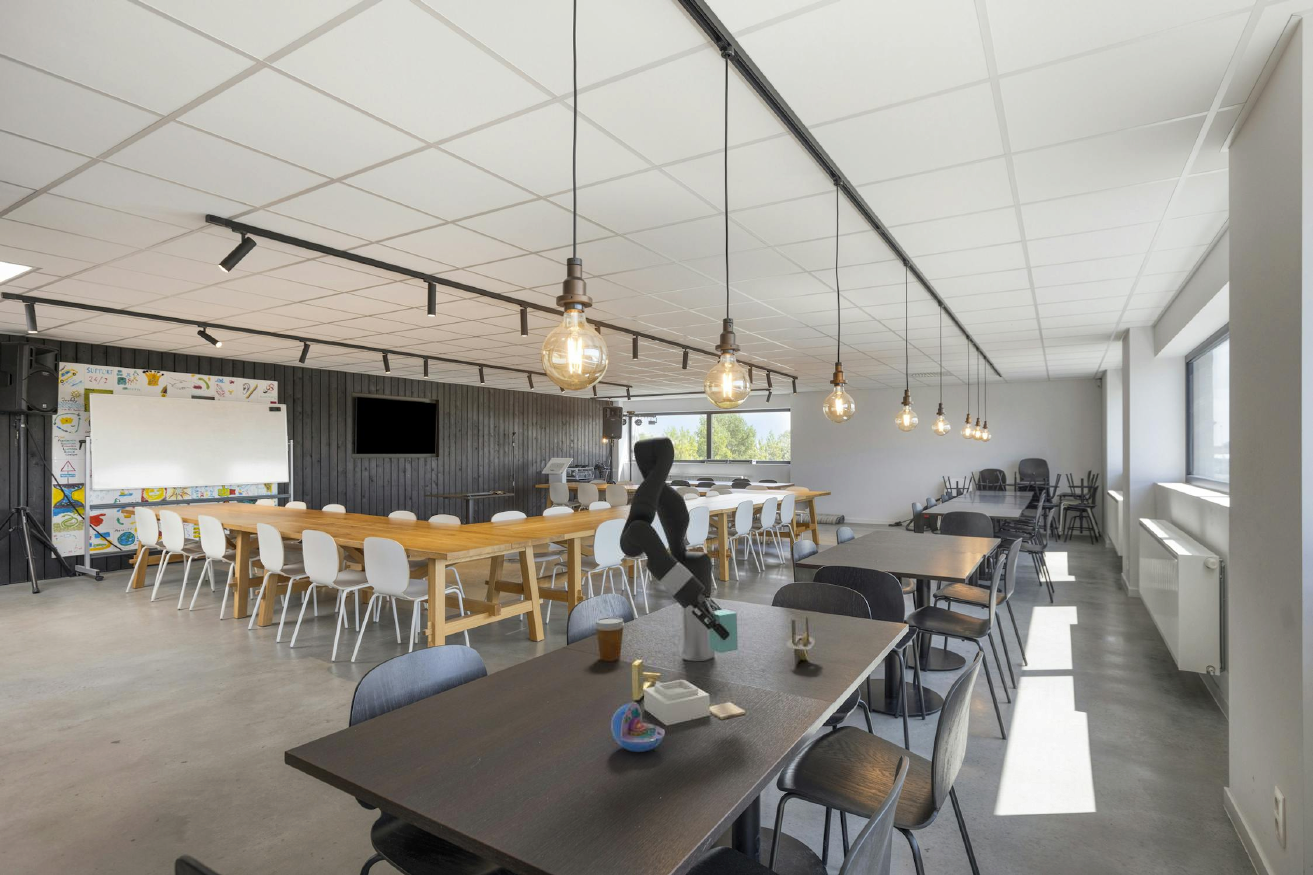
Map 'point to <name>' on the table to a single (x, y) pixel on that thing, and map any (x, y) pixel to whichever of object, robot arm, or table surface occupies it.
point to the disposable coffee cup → (609, 637)
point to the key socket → (655, 684)
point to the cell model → (634, 729)
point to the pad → (726, 710)
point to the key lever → (641, 679)
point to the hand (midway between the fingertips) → (729, 633)
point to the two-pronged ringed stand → (794, 643)
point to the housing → (676, 702)
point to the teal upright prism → (730, 624)
